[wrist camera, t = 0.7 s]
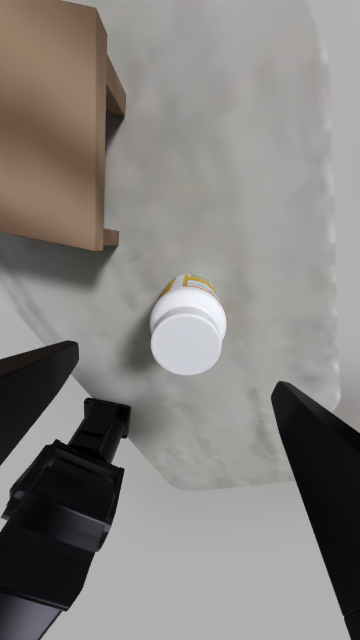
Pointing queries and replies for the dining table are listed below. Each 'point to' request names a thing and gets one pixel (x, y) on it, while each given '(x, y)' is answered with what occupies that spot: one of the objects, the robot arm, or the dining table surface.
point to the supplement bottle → (187, 326)
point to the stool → (55, 122)
